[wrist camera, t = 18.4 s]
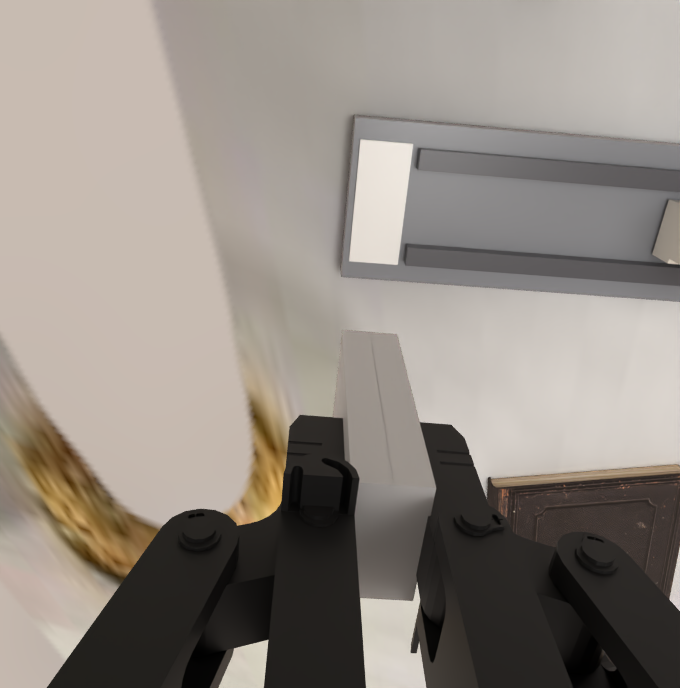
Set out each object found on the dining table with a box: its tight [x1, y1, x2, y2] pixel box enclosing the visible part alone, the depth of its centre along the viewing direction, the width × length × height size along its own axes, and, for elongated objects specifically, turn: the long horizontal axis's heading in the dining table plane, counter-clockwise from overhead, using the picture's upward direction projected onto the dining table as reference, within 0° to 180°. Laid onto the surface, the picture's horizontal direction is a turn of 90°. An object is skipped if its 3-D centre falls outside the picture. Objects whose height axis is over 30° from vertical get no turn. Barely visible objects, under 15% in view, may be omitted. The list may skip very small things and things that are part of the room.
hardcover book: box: [487, 465, 680, 666], centre depth 55 cm, size 16×23×2 cm
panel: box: [341, 115, 680, 302], centre depth 40 cm, size 10×28×3 cm, turn 85°
